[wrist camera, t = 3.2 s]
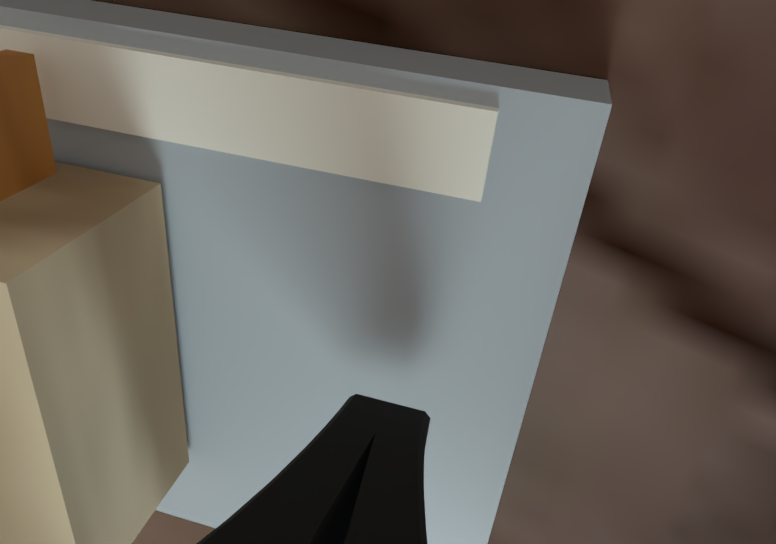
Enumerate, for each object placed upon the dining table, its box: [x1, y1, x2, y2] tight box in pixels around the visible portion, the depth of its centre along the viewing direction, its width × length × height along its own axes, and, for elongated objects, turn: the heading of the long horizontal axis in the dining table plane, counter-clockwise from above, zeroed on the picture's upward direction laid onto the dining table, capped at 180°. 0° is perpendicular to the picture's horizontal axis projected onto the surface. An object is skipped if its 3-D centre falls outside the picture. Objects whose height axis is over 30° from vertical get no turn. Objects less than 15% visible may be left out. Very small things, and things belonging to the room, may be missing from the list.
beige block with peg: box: [0, 49, 189, 544], centre depth 11 cm, size 4×9×4 cm, turn 174°
